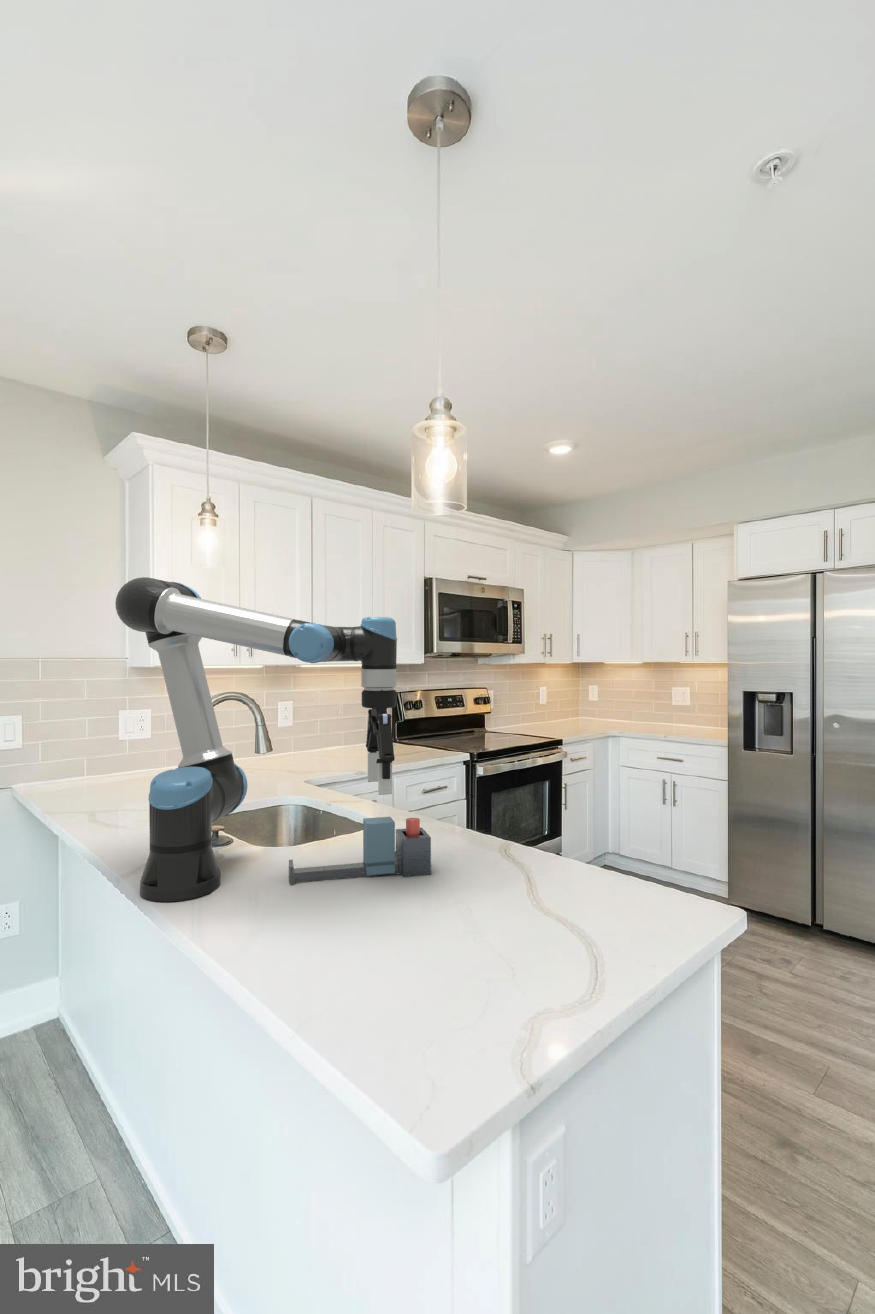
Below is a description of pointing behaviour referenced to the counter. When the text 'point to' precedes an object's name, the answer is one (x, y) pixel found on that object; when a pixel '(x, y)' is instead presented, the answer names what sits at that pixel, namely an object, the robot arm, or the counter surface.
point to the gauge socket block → (414, 853)
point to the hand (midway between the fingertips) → (379, 787)
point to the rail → (334, 871)
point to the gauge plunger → (412, 827)
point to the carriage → (379, 845)
